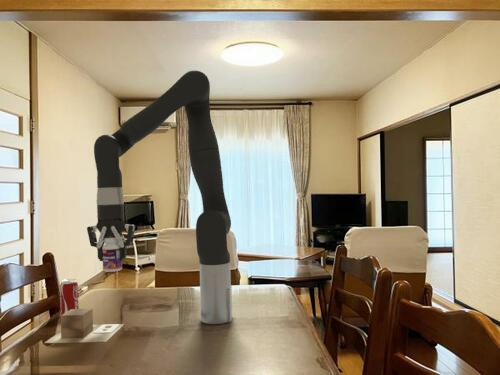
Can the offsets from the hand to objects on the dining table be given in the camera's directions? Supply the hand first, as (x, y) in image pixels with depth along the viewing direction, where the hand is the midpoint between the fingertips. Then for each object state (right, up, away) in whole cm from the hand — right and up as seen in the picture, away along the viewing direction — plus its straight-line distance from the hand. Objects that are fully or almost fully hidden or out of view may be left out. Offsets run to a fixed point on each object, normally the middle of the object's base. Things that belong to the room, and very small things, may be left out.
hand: (112, 260), depth 122 cm
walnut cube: (-6, -18, -11) cm, 22 cm away
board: (-4, -19, -10) cm, 22 cm away
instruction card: (+1, -18, -7) cm, 19 cm away
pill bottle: (0, -3, 0) cm, 3 cm away
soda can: (-16, -20, +8) cm, 27 cm away
